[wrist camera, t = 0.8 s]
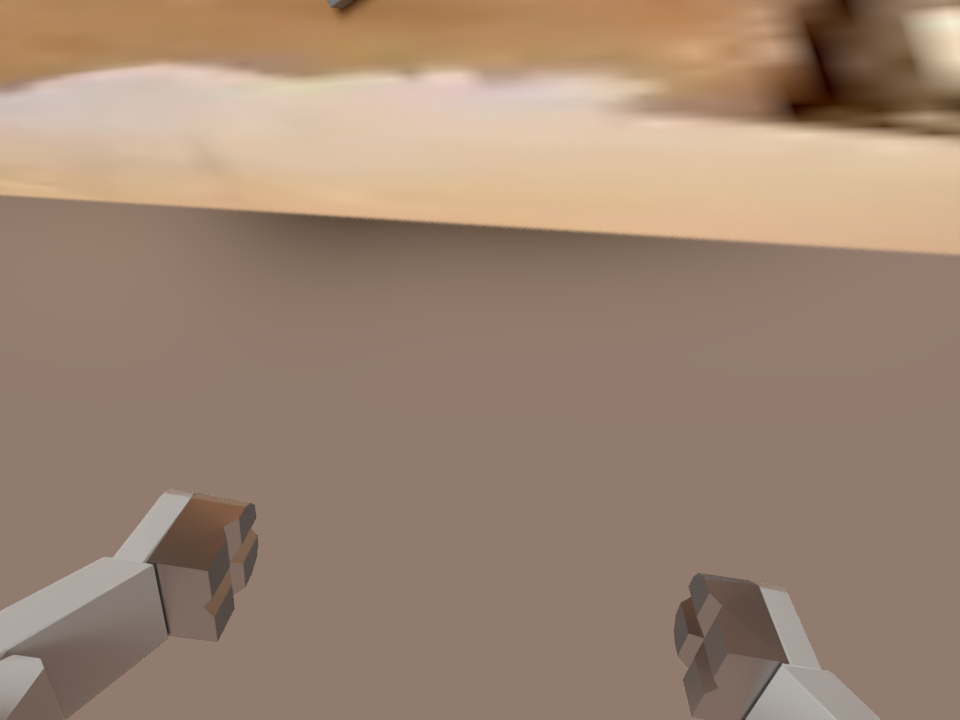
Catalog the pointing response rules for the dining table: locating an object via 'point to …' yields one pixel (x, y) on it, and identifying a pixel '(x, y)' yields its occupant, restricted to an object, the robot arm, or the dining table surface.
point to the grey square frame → (339, 3)
